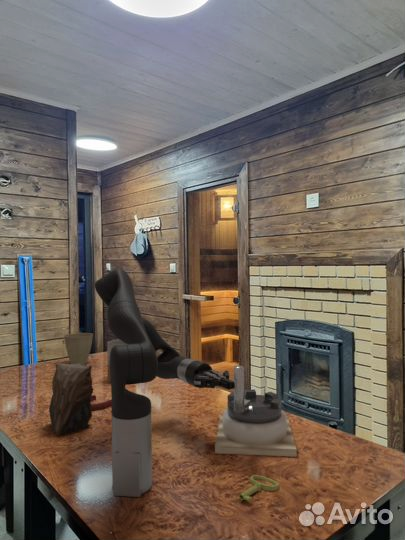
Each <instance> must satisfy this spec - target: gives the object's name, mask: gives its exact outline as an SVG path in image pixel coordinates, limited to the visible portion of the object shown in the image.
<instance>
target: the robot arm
mask: <svg viewBox="0 0 405 540" xmlns="http://www.w3.org/2000/svg"><path fill="white" fill-rule="evenodd" d="M94 289H95V291H96V293H97V295H98V297H99V298H100V299H101V300H102V302H103V303H104V304H105V305H106V306H107V311H106V316H107V322H108V323H107V324H108V328H109V330H110V332H111V333H112V335H113V336H114V337H115V338H117V340H121V341H123V342H124V343H126V344H125V345H116V346H114V347H113V348H112V349H111V352H110V376H111V382H110V385H111V386H110V387H111V388H110V389H111V391H110V392H111V400H112V406H111V476H112V477H111V479H112V480H111V481H112V483H111V484H112V485H111V487H112V491H113V496H114V497H115V496H116V497H131V498H132V497H133V498H140V497H141V496H142V495H143V494H145V493H147V492H148V491H149V490H150V489H151V488H152V486H153V456H152V455H153V454H152V453H153V446H152V445H153V444H152V443H153V441H152V438H153V437H152V430H153V429H152V401H151V399H150V398H149V397H148V396H146V395H143V394H140V393H136V392H133V391H130V390H128V389H127V388H126V386H127V385H137V384H139V385H140V384H146V383H150V382H153V381H154V380H155V379H156V378H157V377H158V378H159V379H162V380H173V379H177V380H180V381H182V382H184V383H186V384H188V385H190V386H193V387H194V388H198V389H205V388H207V389H215V388H222V389H226V390H229V391H231V390H234V380H232V379H230V372H229V371H228V370H224V371H223V372H222V373H221V372H219V371H218V370H217V371H216V370H215V369H213V368H212V366H211V365H210V364H209V363H208V362H204V361H200V360H198V359H197V360H196V359H193V358H188V357H185V356H181V354H180V353H179V351H178V350H176V349H175V348H174V347H172V346H171V345H170V344H169V343H168V342H166V341H165V339H163V338H162V336H161V335H160V333H159V332H158V330H157V329H156V328H155V326H154V325H153V324H152V323H151V322H150V321H149V320H147V319H146V318H144V317H142V314H141V311H140V308H139V306H138V304H137V300H136V297H135V291H134V284H133V282H132V279H131V278H130V275H129V274H128V273H127V272H126V271H125V270H124V269H123V268H116V269H113V270H111V271H109V272H108V273H107V274H105V275H104V276H101V277H100V278H99V279H98V280H96V281H95V283H94ZM159 350H160V351H161V353H160V354H159V355H158V356H157V353H156V352H157V351H159Z"/></svg>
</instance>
